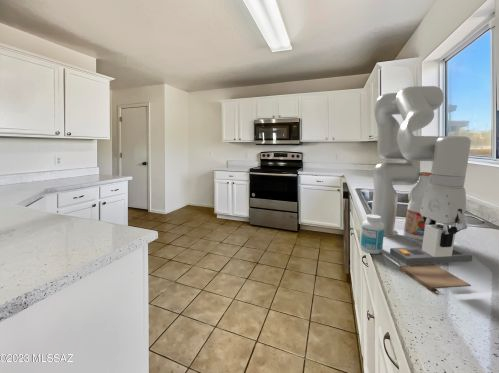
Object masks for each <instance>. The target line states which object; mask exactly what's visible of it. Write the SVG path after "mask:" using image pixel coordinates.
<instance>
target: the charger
mask: <svg viewBox="0 0 499 373" xmlns="http://www.w3.org/2000/svg"><path fill="white" fill-rule="evenodd" d="M449 228H451V226H449ZM442 233H444V227H443V223H437V224H436V225H425V229H424V237H423V240H422V246H421V247H422V251H424V252H426V253H428V254H430V255H432V256H433V257H444V256H452V251H453V247H454V245H455V244H454V243H455V238H456V234H454V235H453V241H452V246H451V247H441V246H440V242H441V235H442Z"/></svg>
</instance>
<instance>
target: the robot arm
mask: <svg viewBox="0 0 499 373" xmlns="http://www.w3.org/2000/svg"><path fill="white" fill-rule="evenodd" d="M444 98H445V97H444V92H443V90H442V89H441V88H440V87H438V86H435V85H427V86H426V85H425V86H424V85H422V86H421V85H420V86H416V85H415V86H408V87H405V88H403V89H401V90H399V92H390V93H389V92H388V93H385V94H381V95H380V96H379V97H377V98H376V101H375V104H374V119H375V123H376V127H377V147H376V148H377V150H376V151H377V156H378V158H380V159H382V160H388V161H389V160H395V161H397V160H399V161H401V160H402V161H403V162H381V163H378V164H376V165H375V166H374V167H373V170H372V178H373V193H372V194H373V195H372V205H371V214H370V215H378V216H381V220H380V222H381V223H383V224H384V237H393V236H398V235H399V232H398V231H397V230H396V229H395V225H396V218H397V207H398V198H399V195H398V193H397V191H396V189H395V188H394V186H414V185H415V184H416V185H417V183H418V182H419V180H420V172H421V162H432V165H431V172H430V173H431V175H430V177H429V178H430V184H427V187H426V189H425V192H424V195H423V199H422V204H421V210H420V214H421V216H422V217H423V219H424V221H425V225H436V224H438V223H439V224H442V225H443V227H444V233H442V235H441V242H440V246H441V247H451V246H452V241H453V235H454V234H455V235H457V233H458V232H460V231H464V230H466V229H468V224H467V222H466V220H465V214H466V208H467V206H466V204H467V203H466V202H467V195H466V193H467V192H466V188H465V182H466V174H467V168H468V164H469V155H470V149H471V146H472V145H471V143H472V140H471V138H470V137H468V136H462V135H459V136H458V135H457V136H456V135H453V136H452V135H449V136H448V135H446V136H444V135H442V136H441V135H436V136H435V135H414V132H416V131H419V130H421V129H424V128H425V127H427V126H428V125H429V124H431V123H432V121H433V120H434V118H435V112H434V111H436V110H438V109H439V108H440V107H441V105H442V104H443V102H444ZM395 115H400V116H401V117H402V120H403V122H402V123H401V125H400V123H399V121H398V120H397V118H395V117H394V116H395ZM449 227H451V228H449Z"/></svg>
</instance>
